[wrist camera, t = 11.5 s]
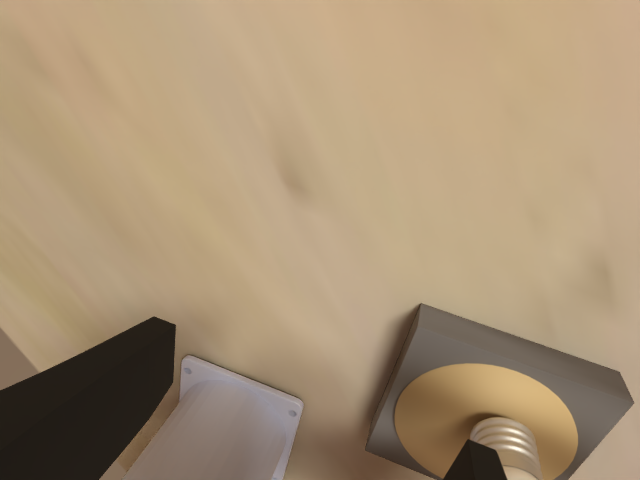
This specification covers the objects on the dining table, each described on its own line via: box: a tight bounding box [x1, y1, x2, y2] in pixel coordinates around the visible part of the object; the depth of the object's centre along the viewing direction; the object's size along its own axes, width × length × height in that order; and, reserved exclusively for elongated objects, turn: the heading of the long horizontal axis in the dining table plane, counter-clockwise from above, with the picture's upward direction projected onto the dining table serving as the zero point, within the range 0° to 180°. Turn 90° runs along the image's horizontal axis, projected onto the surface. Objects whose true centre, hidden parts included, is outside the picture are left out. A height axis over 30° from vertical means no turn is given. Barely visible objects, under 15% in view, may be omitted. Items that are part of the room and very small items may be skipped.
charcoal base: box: [365, 303, 634, 480], centre depth 21 cm, size 9×9×2 cm
